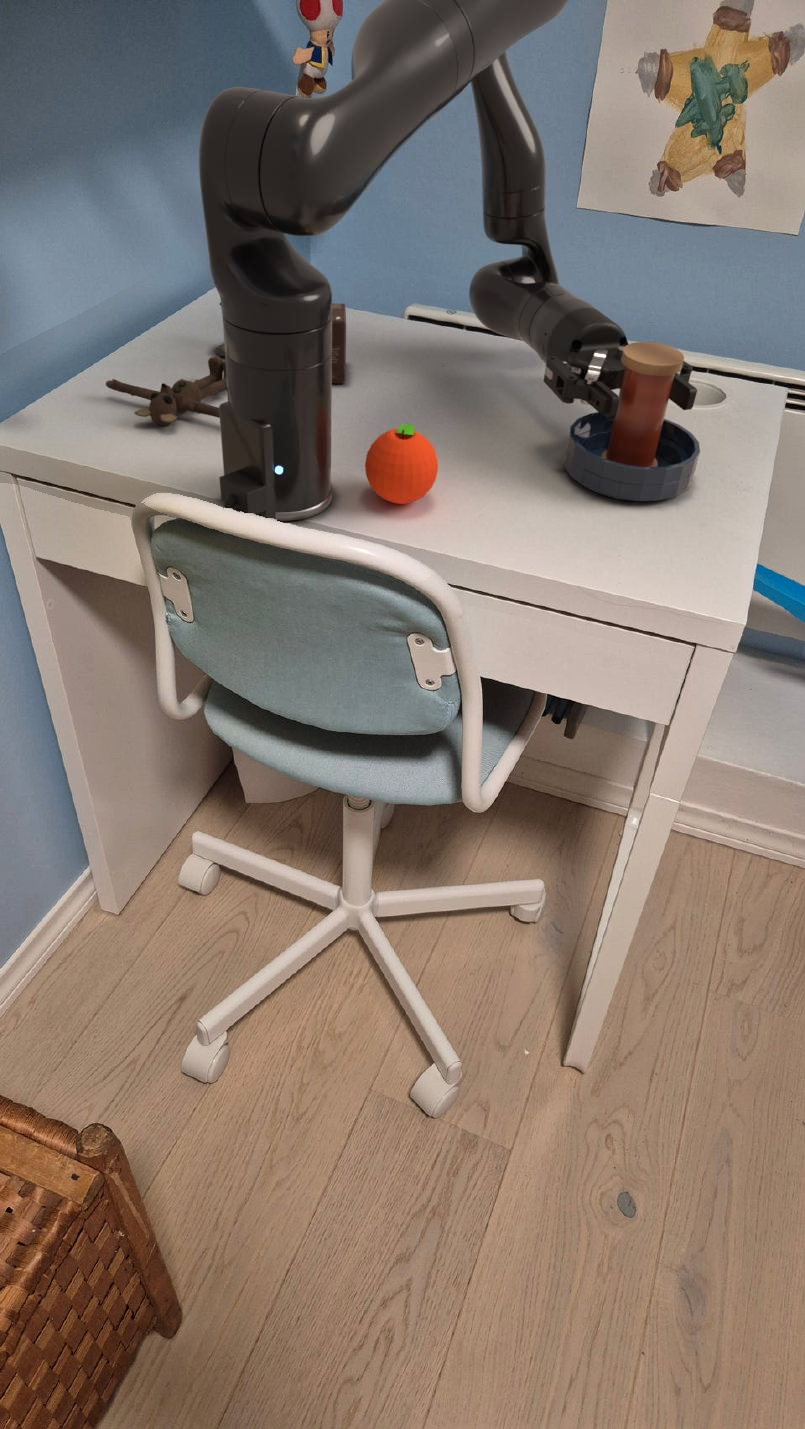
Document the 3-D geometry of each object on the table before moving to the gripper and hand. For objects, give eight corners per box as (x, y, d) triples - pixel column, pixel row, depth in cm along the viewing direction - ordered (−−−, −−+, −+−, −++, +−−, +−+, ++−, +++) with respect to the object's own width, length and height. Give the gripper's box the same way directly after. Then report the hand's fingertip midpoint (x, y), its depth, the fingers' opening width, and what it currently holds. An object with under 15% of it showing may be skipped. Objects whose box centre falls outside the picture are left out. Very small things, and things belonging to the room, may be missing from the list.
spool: (634, 488, 98) (661, 370, 90) (588, 466, 101) (610, 351, 93) (666, 470, 101) (696, 355, 93) (621, 450, 104) (645, 337, 96)
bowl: (641, 520, 94) (651, 482, 92) (538, 469, 101) (543, 433, 98) (714, 479, 101) (724, 443, 99) (612, 434, 108) (620, 400, 105)
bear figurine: (295, 373, 108) (224, 409, 97) (294, 411, 111) (224, 450, 100) (158, 339, 113) (76, 370, 102) (160, 377, 116) (80, 411, 105)
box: (345, 365, 119) (346, 303, 114) (345, 385, 114) (346, 322, 109) (295, 363, 118) (294, 300, 113) (292, 383, 114) (291, 319, 109)
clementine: (376, 472, 99) (378, 405, 94) (443, 483, 98) (449, 415, 93) (355, 510, 93) (357, 440, 88) (427, 522, 92) (433, 452, 87)
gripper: (521, 311, 101) (595, 372, 90) (641, 302, 105) (726, 360, 94) (512, 381, 106) (581, 448, 95) (627, 370, 110) (706, 433, 99)
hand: (653, 404), depth 94 cm, fingers open, 8 cm apart
